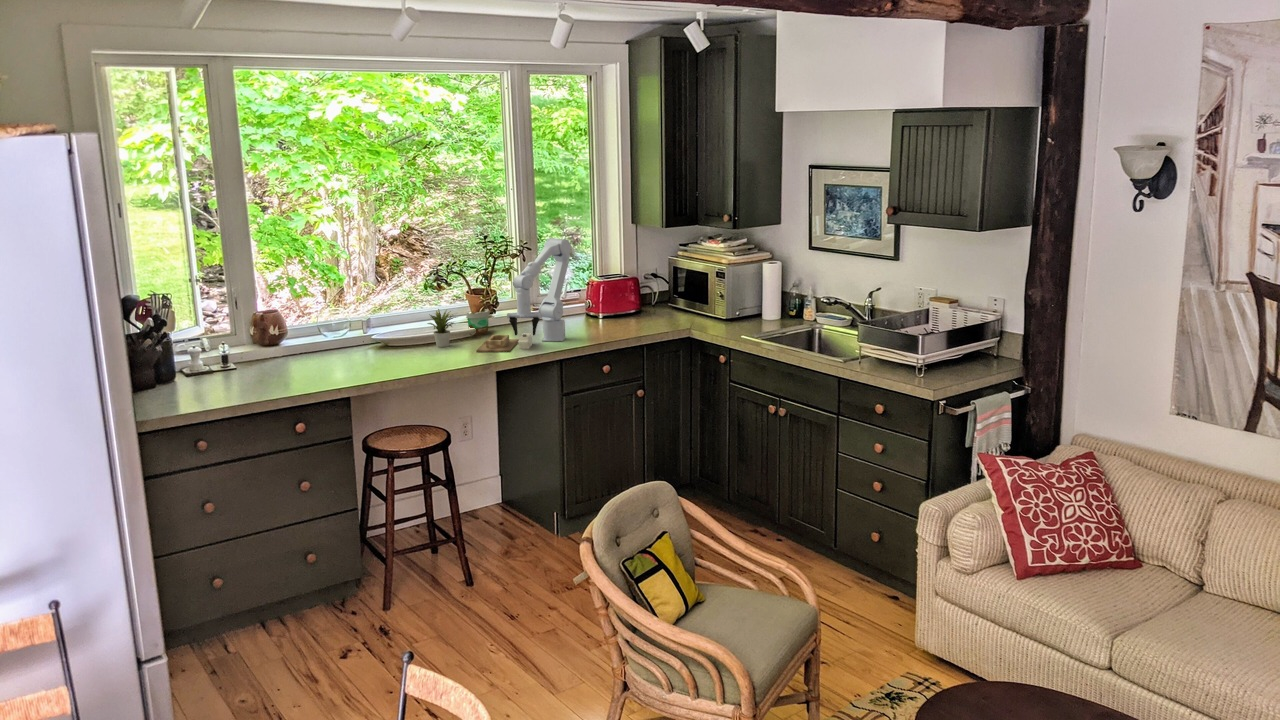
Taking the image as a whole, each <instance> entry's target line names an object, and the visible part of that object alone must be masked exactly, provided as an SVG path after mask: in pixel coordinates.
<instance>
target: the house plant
mask: <svg viewBox="0 0 1280 720" xmlns="http://www.w3.org/2000/svg"><path fill="white" fill-rule="evenodd" d="M447 311H448V308H447V309H446V310H445V311H444V312H443V315H442V314H441V311H440V309H439V308H438V310H435V313H433V314H434V315H432V314H428V315H429V317H430V318H431V319H432V321H433V322H434V323H435V324H434V323H432V322H428V323H426V324H427V325H430V326H433V330H434V331H433V337H434V340H435V344H436V347H437V348H447V347H449V346H450V337H451V330H449V329H448V328H449V327H451V328H453V325H455V322H456V320H454V321H450V320H453V319H456V318H458V316H456V317H455V315H456V314H457V312H454V313H452V314H450V313H451V312H452V310H449V311H448V312H447ZM448 321H449V322H448ZM435 329H436V330H435Z"/></svg>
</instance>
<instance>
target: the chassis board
mask: <svg viewBox="0 0 1280 720" xmlns="http://www.w3.org/2000/svg"><path fill="white" fill-rule="evenodd" d="M518 341H519V338H516V339H515V338H511V339H510V334H492V335H491V336H489V337H488V338H487V339H486V340H484V342H483V343H482V344H481V345H480V346H479V347H478V348H477V349H476V350H475V352H476V353H510V352H511V351H512V350H513V349H514V348H515V346H516V345H517V344H519V343H518ZM513 347H514V348H513Z"/></svg>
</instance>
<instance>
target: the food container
mask: <svg viewBox="0 0 1280 720" xmlns="http://www.w3.org/2000/svg"><path fill="white" fill-rule="evenodd" d="M490 315H491V314H490V310H489V309H488V308H484V310H482V311H476V312H473V313H469V312H468V313H467V312H466V315H465V316H466V317H465V318H466V319H467V324H468V325H467V326H468V328H469V327H470V328H475V329H476V333H475V335H474V336H482V335H487V334H488V333H489V316H490Z"/></svg>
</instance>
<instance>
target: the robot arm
mask: <svg viewBox="0 0 1280 720" xmlns="http://www.w3.org/2000/svg"><path fill="white" fill-rule="evenodd" d="M571 251H572V244H571V242H570V240H568V239H567V238H557V237H556V238H554V237H549V238H548V239H546V241H545V242H544V243H543V248H542V250H541V251H540V253H539V254H538V256H537V257H536V258H535V260H534V261H530V262H528V263H527V265H526V267H525V268H524V269H523V270H522V271H521V272H520V274H517V275H515V277H514V278H513V281H512V285H513V288H514V290H515V293H516V308H517V309H516V310H517V311H516V312H507V313H506V319H509V323H510V325H511V327H512V329H513V332H514V336H518V332H519V331H518V319H531V324H532V335H533V336H536V332H537V327H538V324H539V321H540V319H541V320H542V329H543V338H542V339H541V342H563V341H565V339H566V337H567V336H566V322H565V319H562V317H563V315H564V303H563V302H562V300H561V296H562V292H563V288H564V283H565V279H566V275H567V271H568V267H569V264H570V255H571ZM550 257H552V258H553V259H554V261H555V264H554V269H553V273H552V276H551V280H550V281H551V282H550V285H549V290H548V291H547V292H548V293H547V295H546V297H545V298H543V299H542V302H541V304H540V306H539V307H538V312H532V307H531V306H532V304H531V288H532V286H533V284H534V280H535V278H536V277H537V276H538V275H539V274H540V272H541V270H542V269H541V268H542V266H543V265H544V264H545V262H547V261H548V260H549V259H550Z"/></svg>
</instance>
